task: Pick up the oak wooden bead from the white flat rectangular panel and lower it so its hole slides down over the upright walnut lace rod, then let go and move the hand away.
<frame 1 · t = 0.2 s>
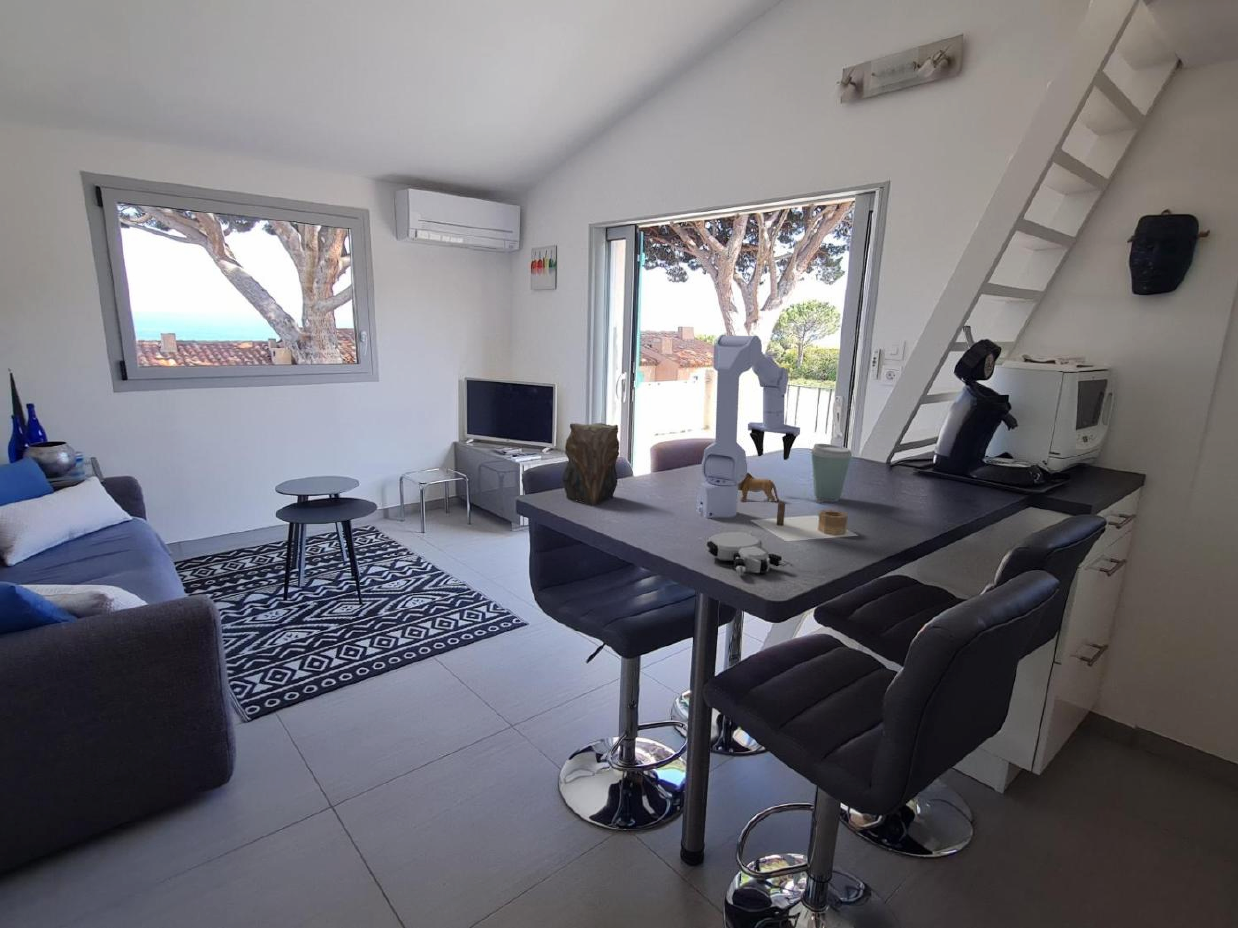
hand: (773, 457, 179), 10 cm above the table, tool pointing down, fingers open, 7 cm apart
lace rod: (780, 524, 146), resting on white flat rectangular panel
lion figurine: (752, 502, 171), on the table
disposable coffee cup: (827, 500, 175), on the table
owl: (590, 499, 170), on the table
robot toy: (742, 565, 124), on the table
oak bead: (831, 531, 142), point 1 cm above the table, touching white flat rectangular panel
white flat rectangular panel: (802, 532, 145), on the table
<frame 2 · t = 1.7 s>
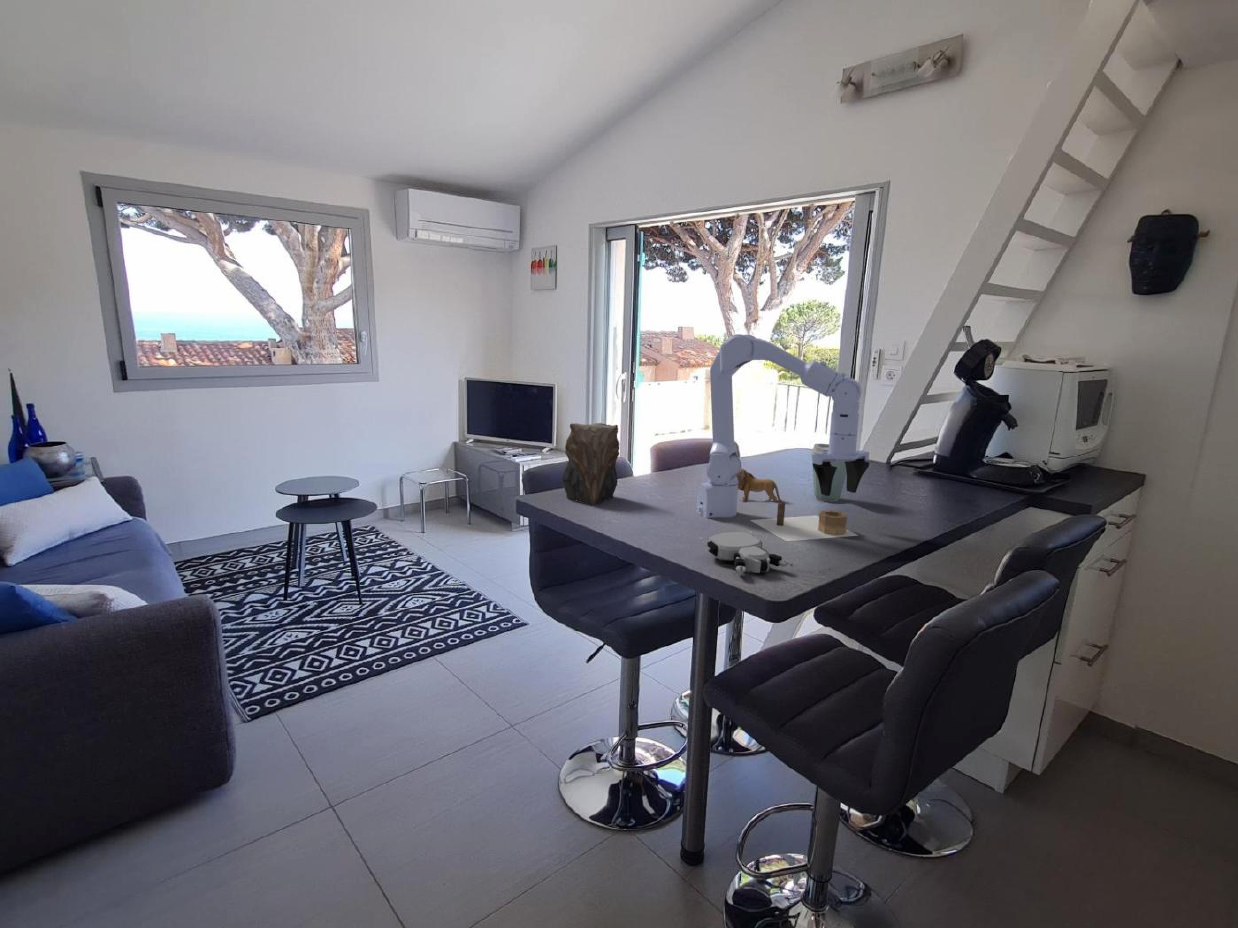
hand: (838, 493, 143), 9 cm above the table, tool pointing down, fingers open, 7 cm apart
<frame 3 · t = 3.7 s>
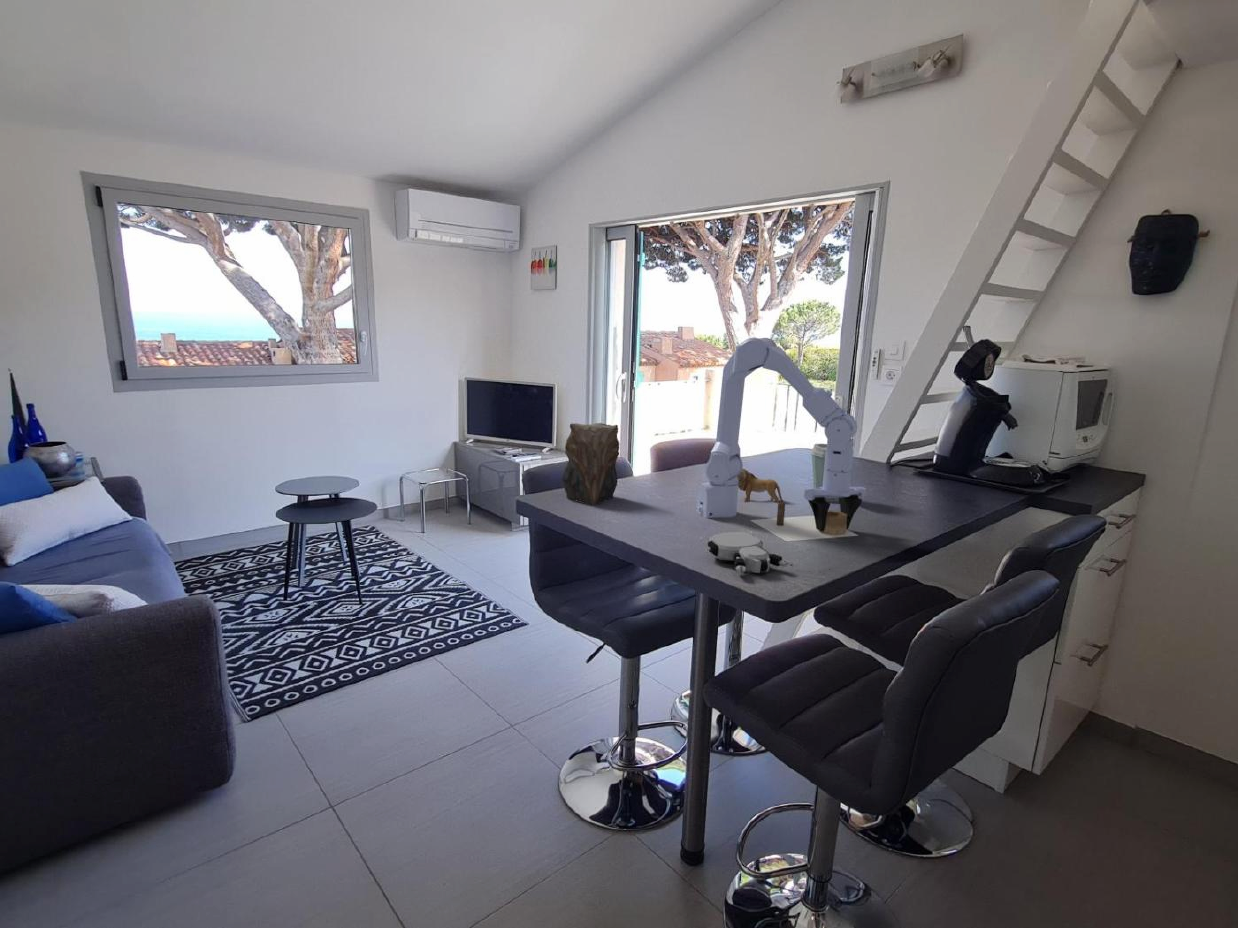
hand: (832, 528, 142), 2 cm above the table, tool pointing down, fingers closed on oak bead, 6 cm apart
oak bead: (831, 531, 142), point 1 cm above the table, touching gripper, white flat rectangular panel
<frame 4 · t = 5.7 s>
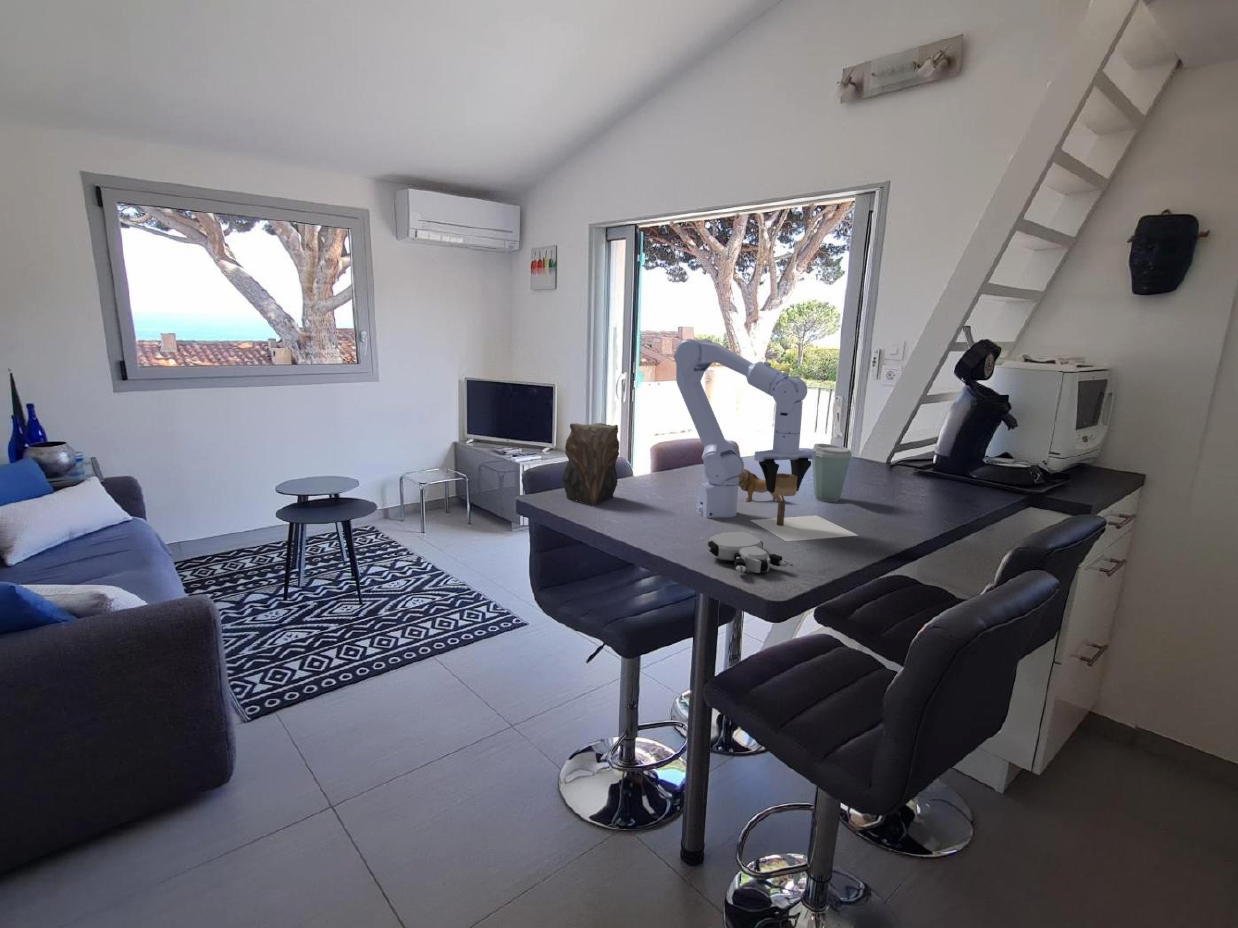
hand: (782, 490, 145), 9 cm above the table, tool pointing down, fingers closed on oak bead, 6 cm apart
oak bead: (782, 492, 145), point 9 cm above the table, touching gripper
when the fingers open (4 cm above the table, at t = 8.2 s): oak bead drops 2 cm, resting on white flat rectangular panel.
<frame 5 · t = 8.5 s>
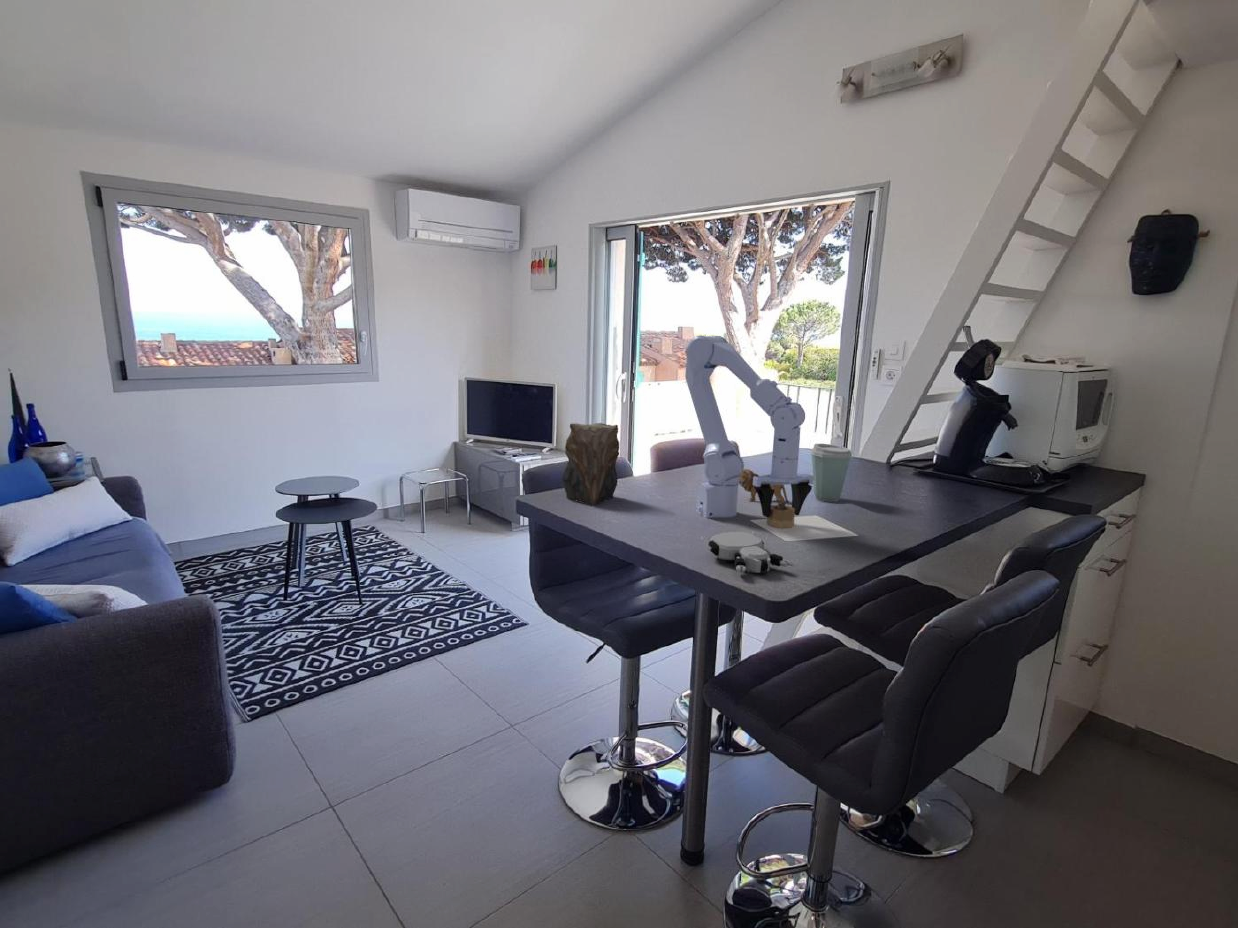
hand: (780, 515, 146), 4 cm above the table, tool pointing down, fingers open, 7 cm apart
oak bead: (780, 524, 146), point 1 cm above the table, touching white flat rectangular panel
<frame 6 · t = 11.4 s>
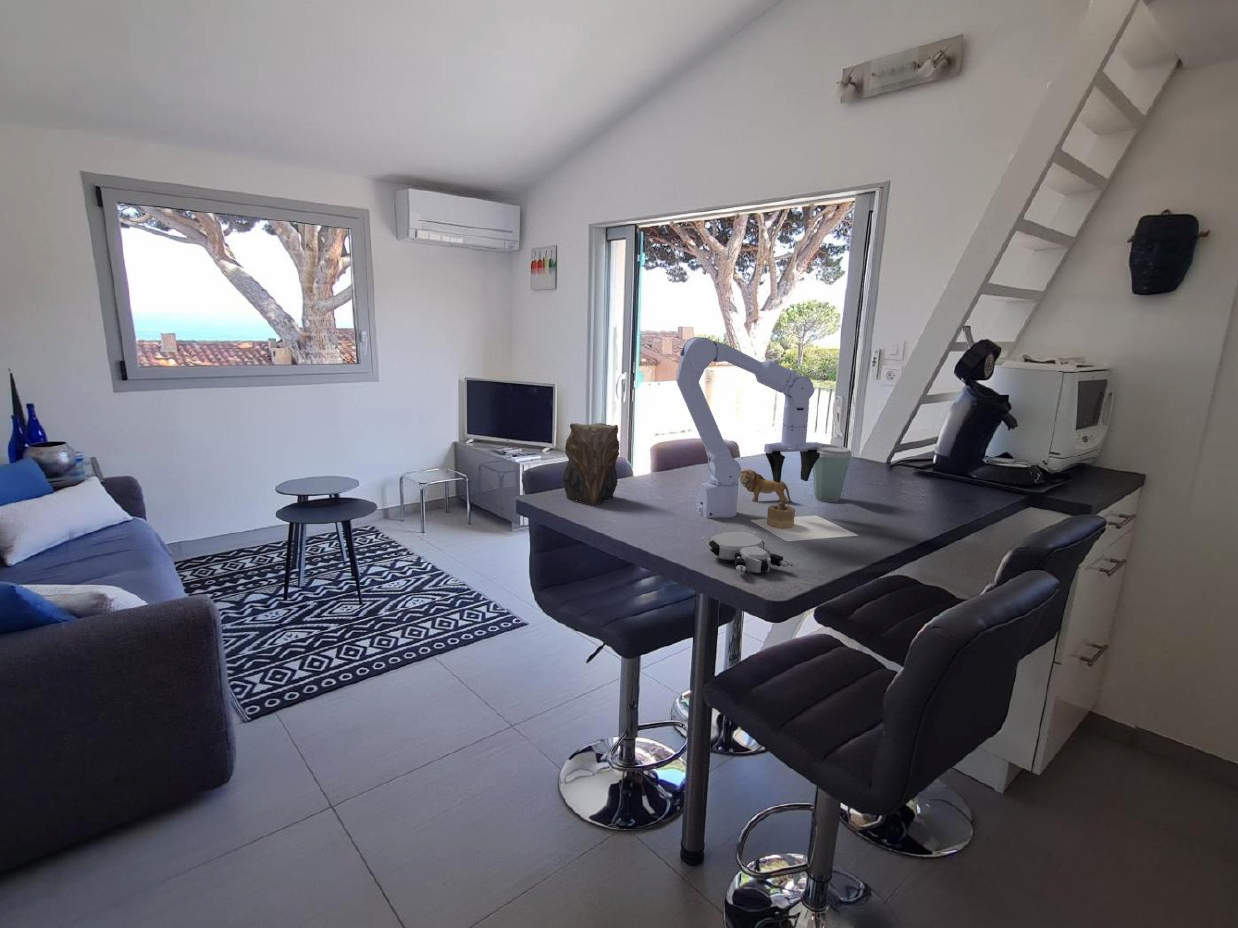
hand: (790, 481, 154), 9 cm above the table, tool pointing down, fingers open, 7 cm apart
at the end: oak bead 0.0 cm from the lace rod (horizontally); oak bead point 1.2 cm above the table; the gripper is holding nothing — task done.
